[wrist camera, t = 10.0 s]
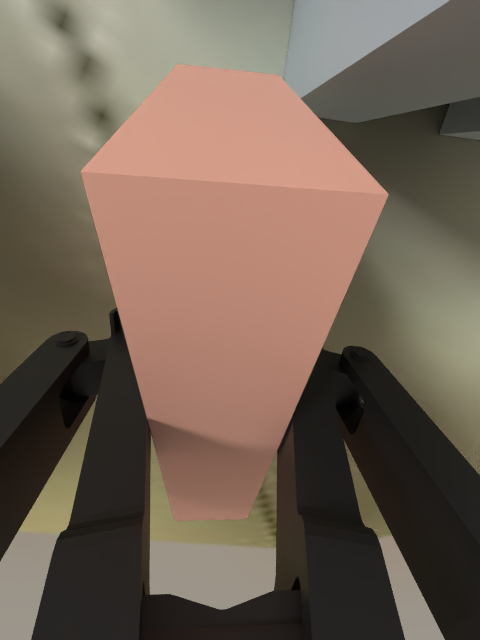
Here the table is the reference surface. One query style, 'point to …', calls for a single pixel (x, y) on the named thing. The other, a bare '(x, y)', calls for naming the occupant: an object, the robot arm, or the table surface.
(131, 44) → the table surface
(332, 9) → the pale blue cube
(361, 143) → the table surface
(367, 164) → the table surface
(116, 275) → the long salmon pink block
